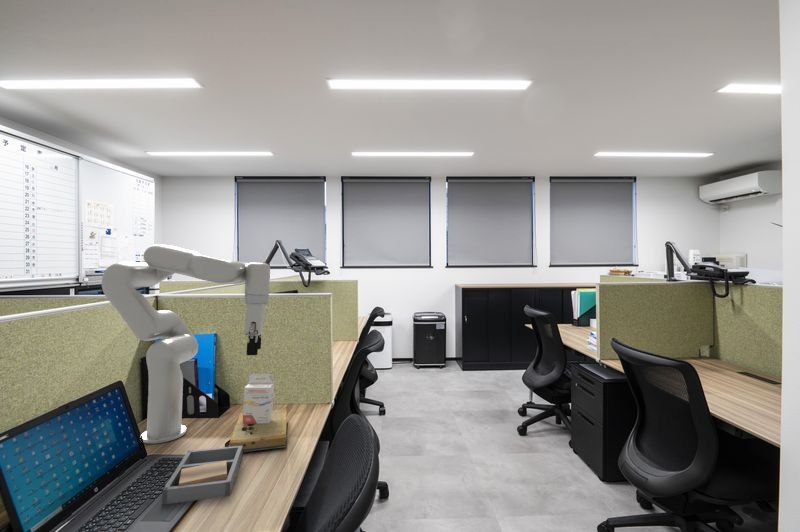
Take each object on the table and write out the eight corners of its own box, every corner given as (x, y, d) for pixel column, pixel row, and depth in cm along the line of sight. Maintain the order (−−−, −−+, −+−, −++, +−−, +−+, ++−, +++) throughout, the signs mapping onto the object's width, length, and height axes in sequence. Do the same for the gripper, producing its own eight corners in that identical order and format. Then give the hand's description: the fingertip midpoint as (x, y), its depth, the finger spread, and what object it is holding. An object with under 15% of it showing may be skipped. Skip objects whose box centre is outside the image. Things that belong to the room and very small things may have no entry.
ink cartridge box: (241, 424, 114) (243, 378, 115) (246, 418, 119) (247, 374, 120) (269, 423, 116) (271, 377, 116) (273, 417, 120) (274, 373, 121)
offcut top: (181, 476, 89) (181, 468, 89) (226, 467, 93) (226, 460, 93) (178, 491, 83) (179, 483, 83) (226, 480, 87) (226, 473, 87)
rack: (187, 465, 99) (188, 450, 99) (242, 459, 103) (242, 445, 103) (161, 508, 81) (162, 490, 81) (229, 499, 84) (229, 481, 85)
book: (238, 427, 126) (239, 410, 126) (287, 422, 131) (288, 406, 131) (227, 462, 102) (227, 441, 103) (287, 455, 107) (288, 434, 108)
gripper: (248, 298, 126) (245, 347, 125) (240, 301, 109) (237, 358, 109) (270, 298, 128) (268, 346, 127) (266, 302, 111) (263, 357, 111)
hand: (253, 351), depth 118 cm, fingers open, 9 cm apart
